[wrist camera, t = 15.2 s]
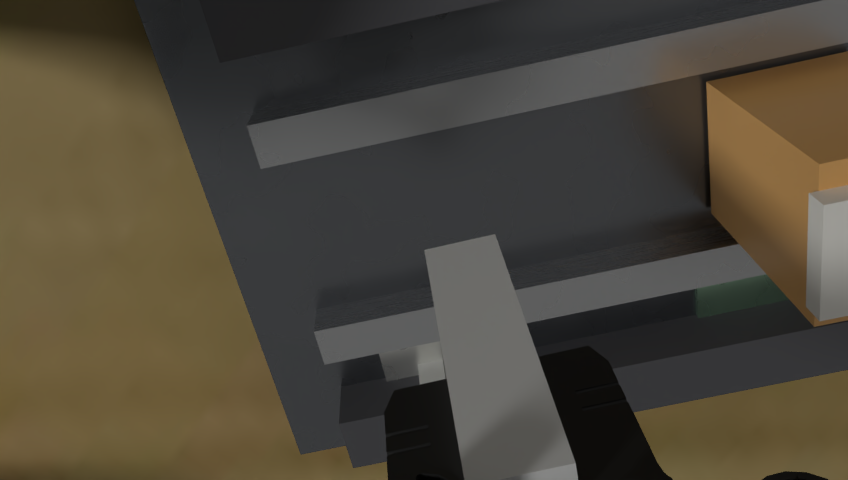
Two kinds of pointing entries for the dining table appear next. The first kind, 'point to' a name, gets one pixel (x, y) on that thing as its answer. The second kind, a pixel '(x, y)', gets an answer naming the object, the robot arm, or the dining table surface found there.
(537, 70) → the panel
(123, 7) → the dining table surface
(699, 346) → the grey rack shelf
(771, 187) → the orange white block
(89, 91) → the dining table surface
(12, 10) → the dining table surface
